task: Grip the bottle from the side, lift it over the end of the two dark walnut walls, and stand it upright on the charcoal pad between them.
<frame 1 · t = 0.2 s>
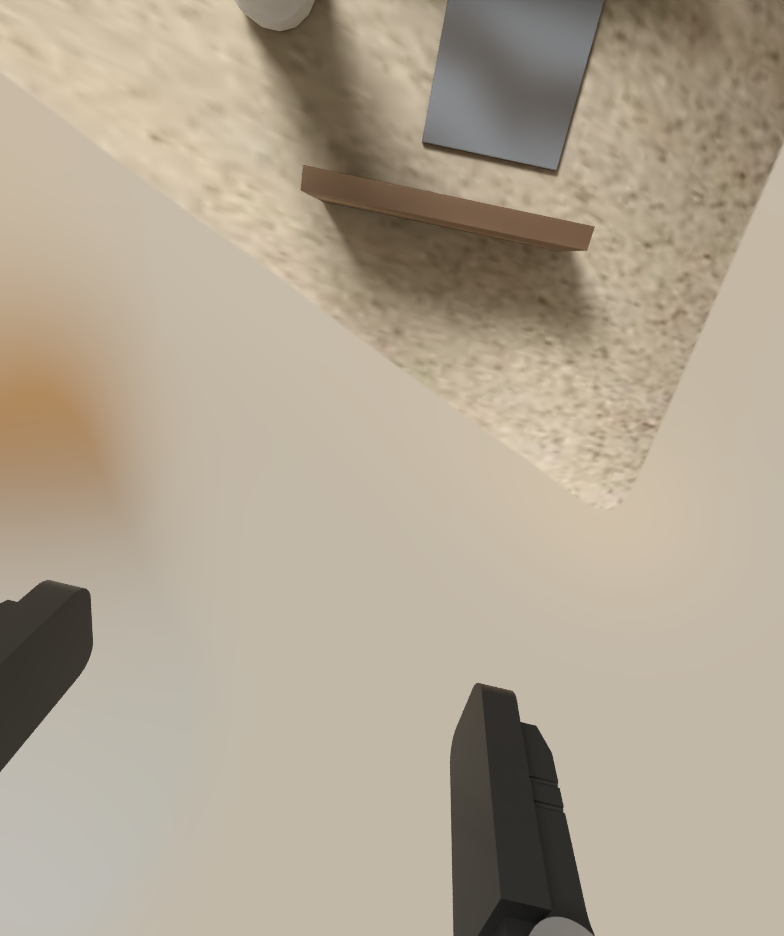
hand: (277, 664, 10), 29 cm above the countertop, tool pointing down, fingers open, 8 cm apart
arena: (474, 66, 29), on the countertop
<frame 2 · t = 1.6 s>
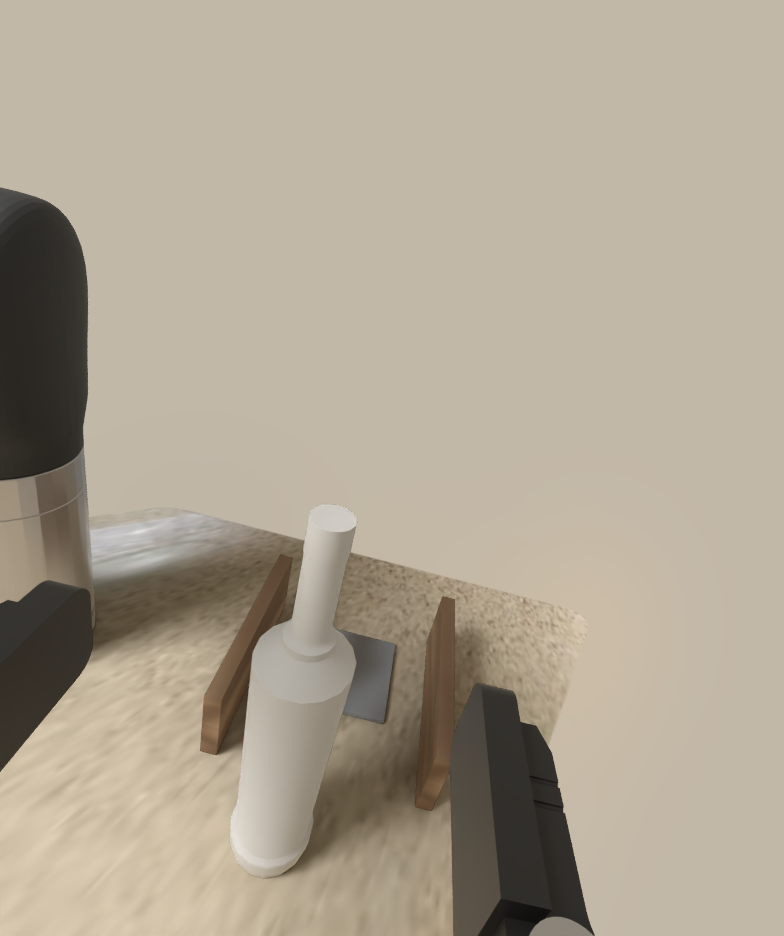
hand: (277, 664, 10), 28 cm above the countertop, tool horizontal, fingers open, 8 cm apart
bottle: (269, 836, 32), on the countertop
arena: (339, 688, 43), on the countertop
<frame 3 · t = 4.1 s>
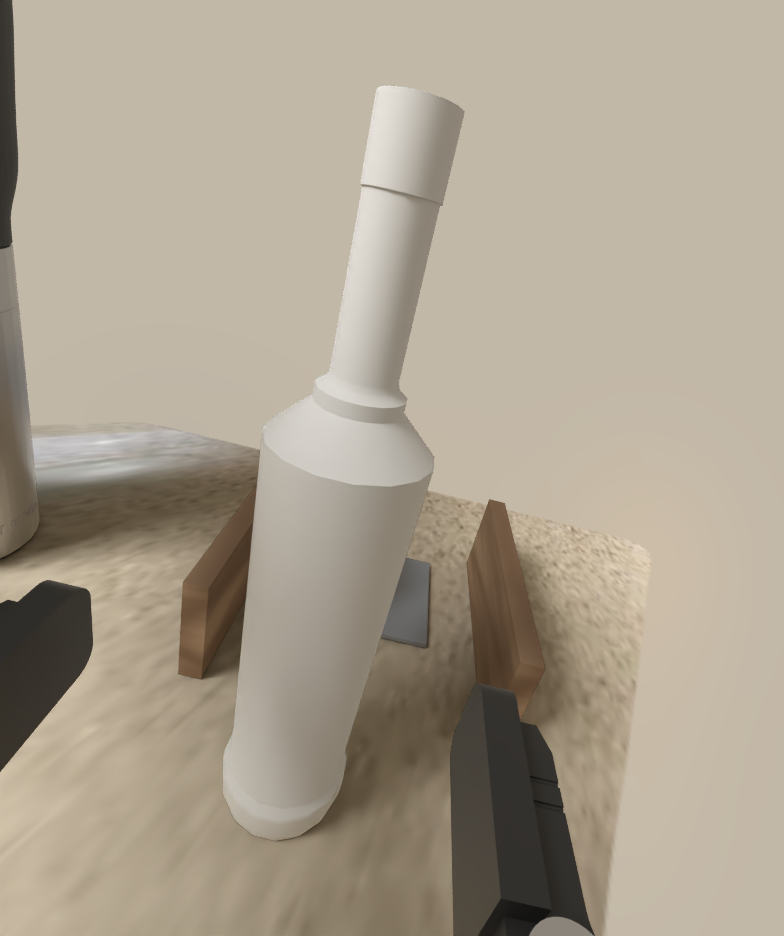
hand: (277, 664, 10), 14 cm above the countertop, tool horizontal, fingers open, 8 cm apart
bottle: (281, 783, 22), on the countertop
arena: (363, 607, 33), on the countertop
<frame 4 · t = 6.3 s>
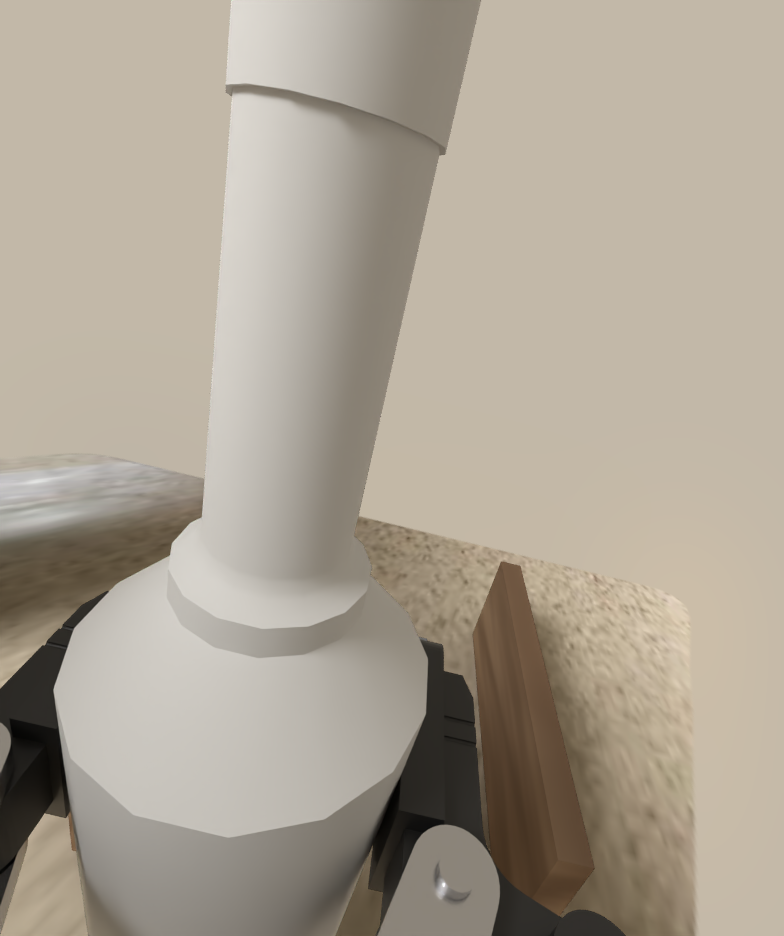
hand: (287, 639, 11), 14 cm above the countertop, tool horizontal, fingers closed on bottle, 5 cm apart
arena: (341, 713, 25), on the countertop
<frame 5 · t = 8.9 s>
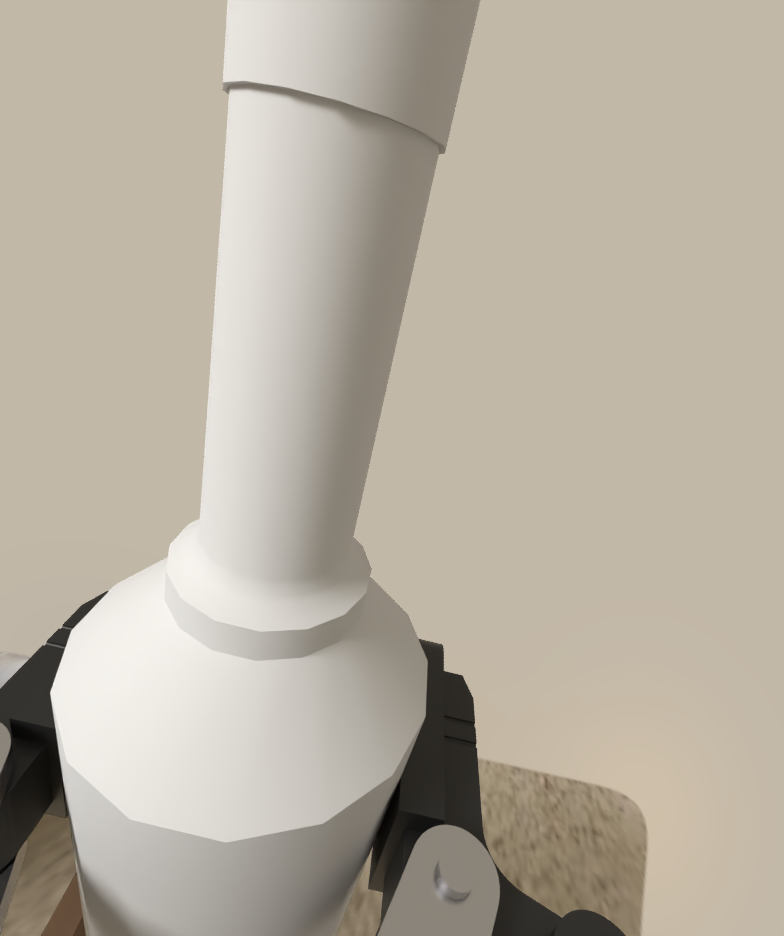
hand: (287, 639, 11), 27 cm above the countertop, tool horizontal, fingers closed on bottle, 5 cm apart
when the fingers open (15 cm above the countertop, at t = 11.8 s): bottle stays where it is, resting on arena.
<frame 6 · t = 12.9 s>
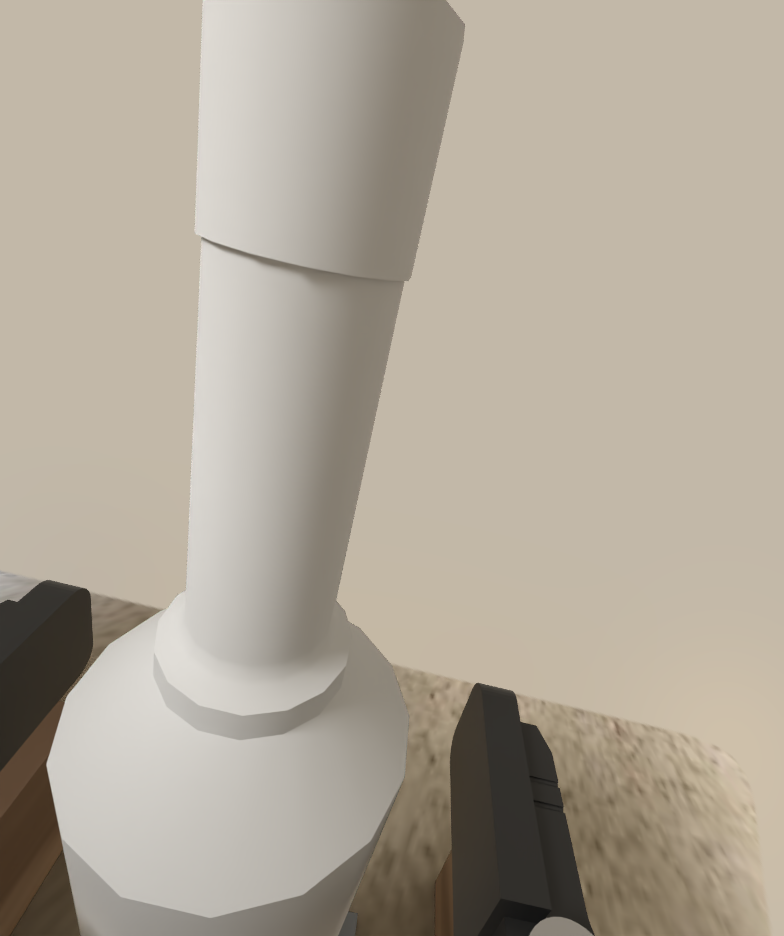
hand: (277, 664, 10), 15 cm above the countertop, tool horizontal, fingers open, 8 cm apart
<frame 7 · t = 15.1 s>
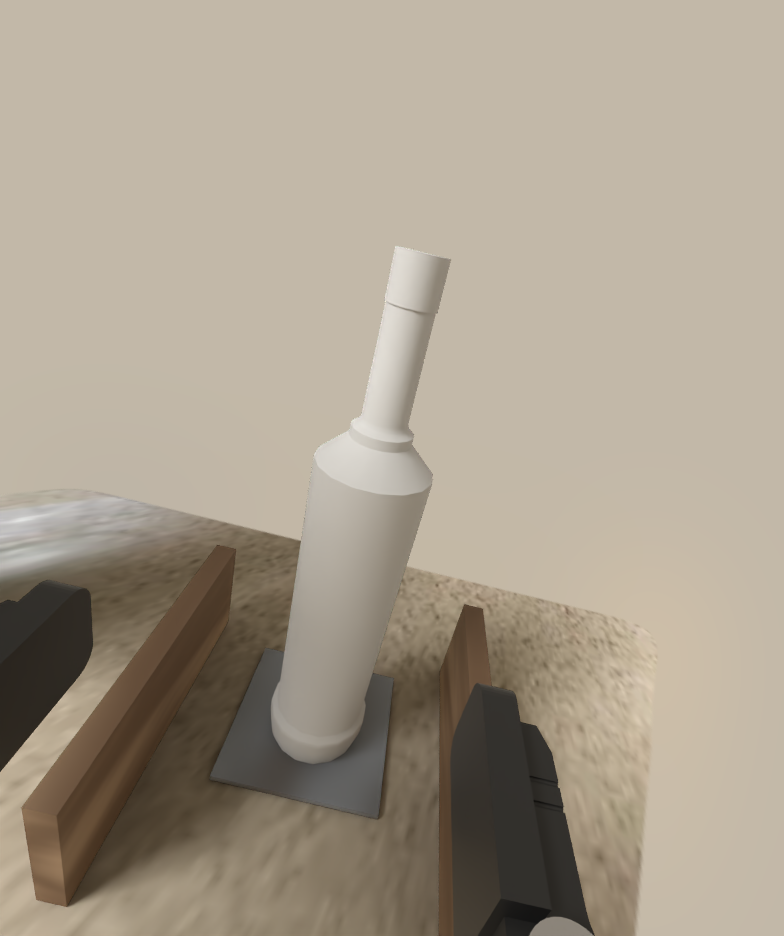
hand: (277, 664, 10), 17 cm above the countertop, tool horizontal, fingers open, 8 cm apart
bottle: (314, 725, 28), resting on arena
arena: (304, 756, 26), on the countertop
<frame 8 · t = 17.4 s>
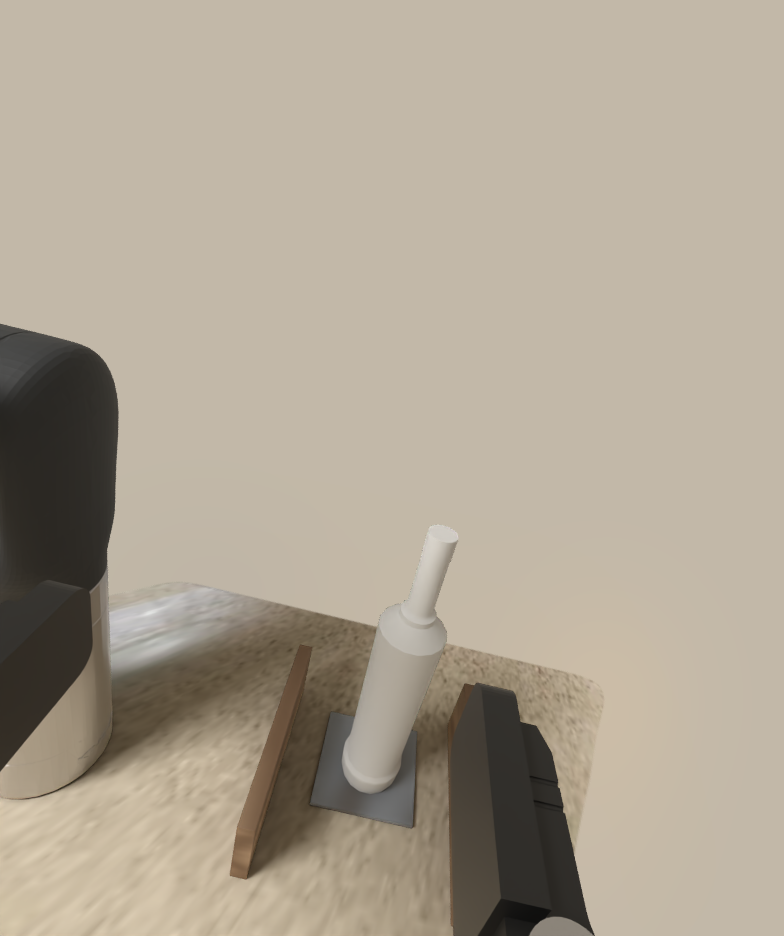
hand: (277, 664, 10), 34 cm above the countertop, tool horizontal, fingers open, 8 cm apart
bottle: (368, 767, 44), resting on arena
arena: (364, 788, 42), on the countertop
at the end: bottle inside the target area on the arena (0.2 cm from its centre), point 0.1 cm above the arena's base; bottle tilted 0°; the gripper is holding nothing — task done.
